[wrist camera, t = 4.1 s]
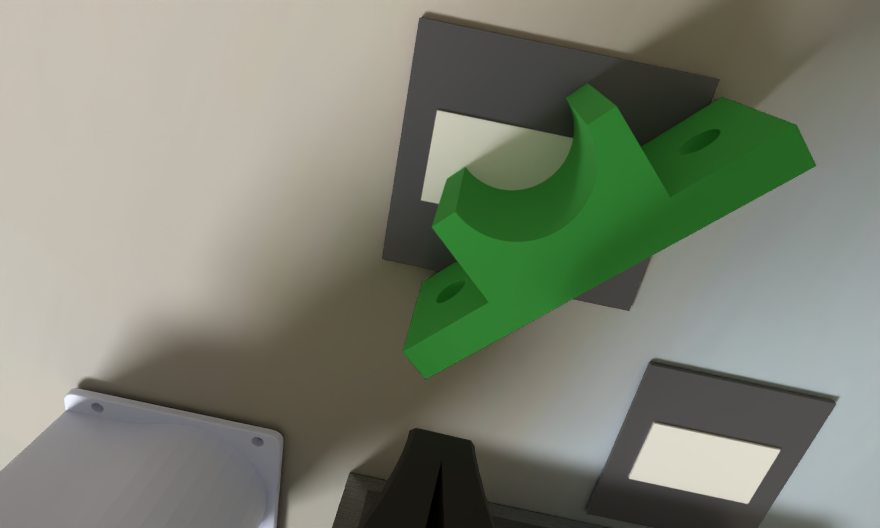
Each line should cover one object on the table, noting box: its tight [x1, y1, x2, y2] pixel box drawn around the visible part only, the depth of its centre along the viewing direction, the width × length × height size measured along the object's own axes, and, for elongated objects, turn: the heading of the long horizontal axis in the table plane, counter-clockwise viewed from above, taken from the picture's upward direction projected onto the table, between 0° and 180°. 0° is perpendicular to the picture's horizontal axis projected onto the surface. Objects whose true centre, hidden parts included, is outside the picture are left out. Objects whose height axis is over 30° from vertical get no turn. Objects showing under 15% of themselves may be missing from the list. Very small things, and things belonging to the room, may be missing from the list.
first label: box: [586, 362, 836, 528], centre depth 22 cm, size 7×8×1 cm
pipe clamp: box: [403, 83, 816, 379], centre depth 16 cm, size 11×4×5 cm, turn 126°
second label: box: [382, 18, 719, 311], centre depth 18 cm, size 9×8×1 cm
